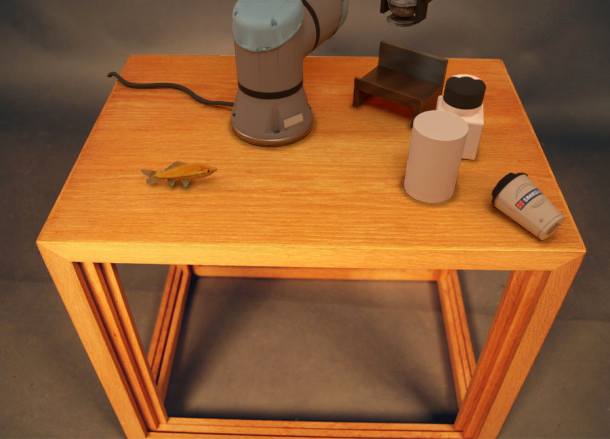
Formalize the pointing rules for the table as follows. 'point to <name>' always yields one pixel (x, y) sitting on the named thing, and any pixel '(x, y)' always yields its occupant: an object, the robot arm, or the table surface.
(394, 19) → the salt shaker
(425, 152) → the beige cylinder
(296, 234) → the table surface
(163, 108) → the table surface
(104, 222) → the table surface
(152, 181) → the fish
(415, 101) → the spice rack
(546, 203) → the coffee cup
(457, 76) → the container
